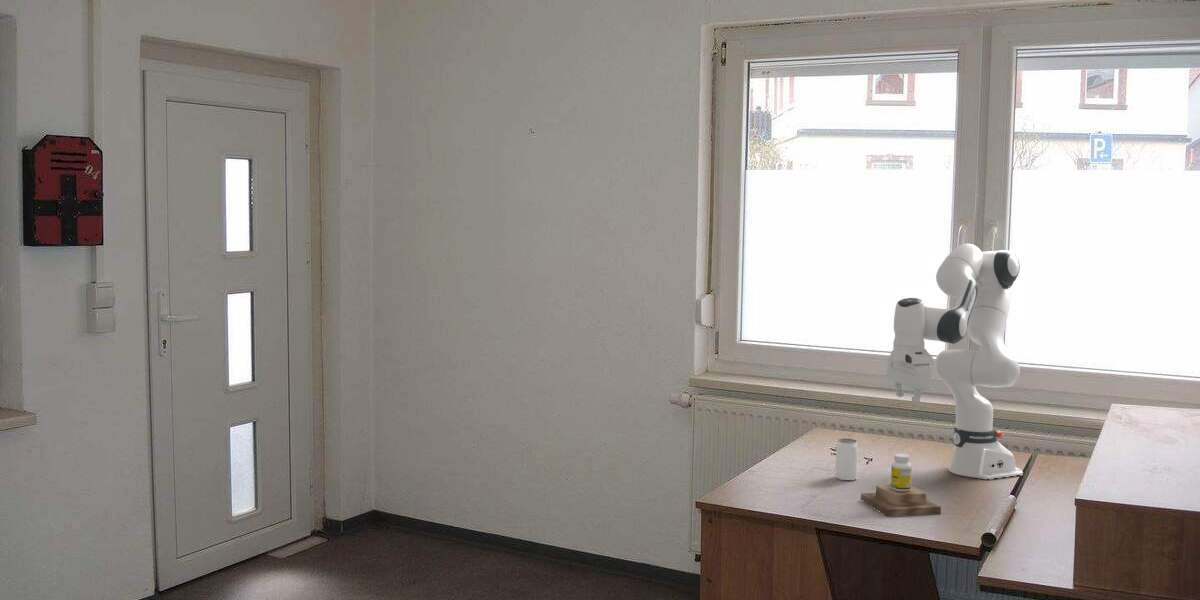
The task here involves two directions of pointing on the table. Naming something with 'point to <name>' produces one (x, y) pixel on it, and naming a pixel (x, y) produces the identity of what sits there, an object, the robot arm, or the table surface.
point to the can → (846, 459)
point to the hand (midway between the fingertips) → (907, 399)
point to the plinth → (900, 509)
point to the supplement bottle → (901, 473)
